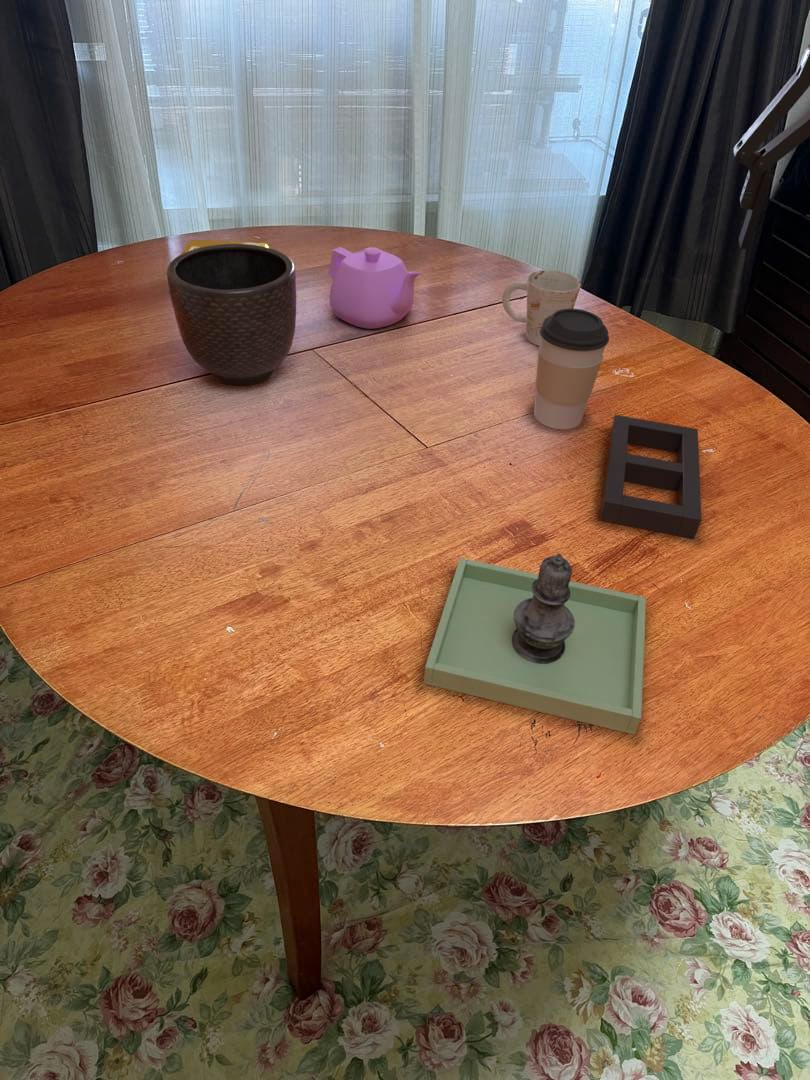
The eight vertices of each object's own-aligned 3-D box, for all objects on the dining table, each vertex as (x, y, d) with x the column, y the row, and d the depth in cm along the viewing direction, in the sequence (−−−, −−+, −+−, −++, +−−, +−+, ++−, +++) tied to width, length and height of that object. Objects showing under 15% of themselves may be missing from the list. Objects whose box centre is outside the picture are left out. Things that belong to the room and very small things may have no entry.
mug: (558, 355, 122) (570, 295, 116) (487, 335, 126) (494, 276, 120) (576, 335, 128) (588, 277, 121) (507, 317, 132) (515, 260, 125)
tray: (640, 613, 80) (646, 596, 78) (634, 735, 68) (641, 718, 67) (458, 574, 83) (460, 557, 81) (423, 683, 72) (424, 666, 70)
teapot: (391, 348, 122) (393, 280, 114) (305, 308, 131) (302, 243, 124) (443, 322, 129) (449, 258, 122) (359, 287, 139) (359, 225, 132)
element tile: (192, 261, 144) (188, 236, 141) (271, 265, 145) (269, 239, 142) (173, 294, 133) (169, 267, 130) (259, 298, 134) (257, 271, 130)
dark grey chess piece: (542, 676, 72) (565, 586, 64) (496, 640, 75) (513, 550, 67) (580, 645, 75) (606, 556, 67) (534, 612, 78) (554, 523, 71)
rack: (691, 447, 104) (697, 428, 102) (693, 539, 89) (701, 519, 87) (610, 432, 106) (614, 414, 104) (599, 520, 91) (604, 501, 89)
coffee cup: (573, 396, 113) (594, 299, 103) (600, 429, 106) (625, 329, 96) (516, 402, 111) (532, 304, 101) (540, 437, 104) (559, 335, 94)
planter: (289, 405, 107) (282, 296, 97) (169, 396, 108) (148, 287, 97) (309, 348, 120) (304, 247, 110) (201, 340, 121) (186, 239, 110)
